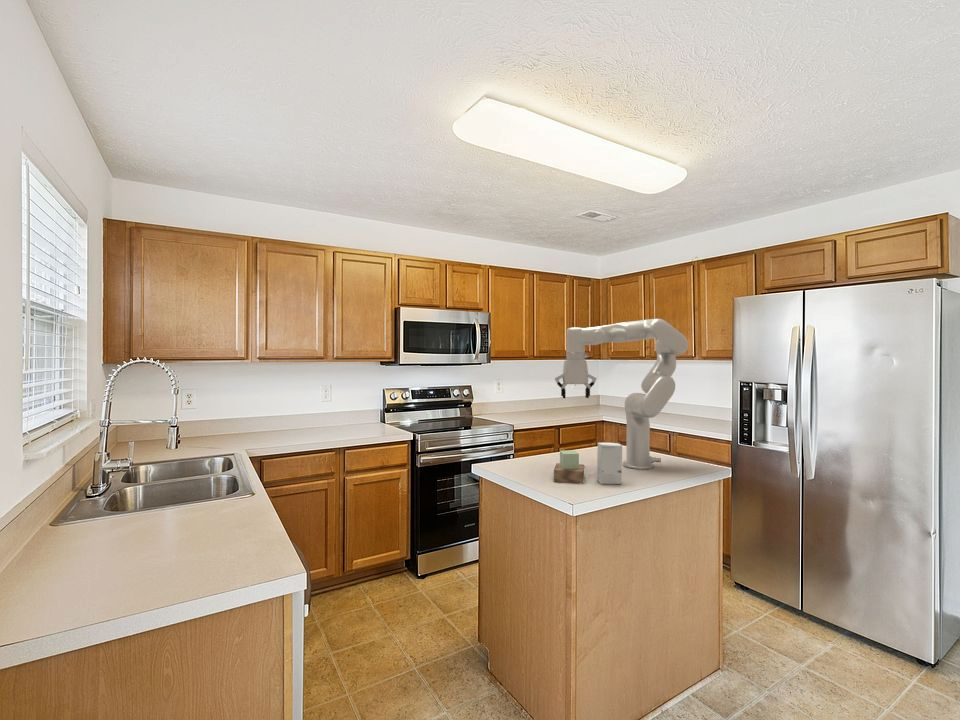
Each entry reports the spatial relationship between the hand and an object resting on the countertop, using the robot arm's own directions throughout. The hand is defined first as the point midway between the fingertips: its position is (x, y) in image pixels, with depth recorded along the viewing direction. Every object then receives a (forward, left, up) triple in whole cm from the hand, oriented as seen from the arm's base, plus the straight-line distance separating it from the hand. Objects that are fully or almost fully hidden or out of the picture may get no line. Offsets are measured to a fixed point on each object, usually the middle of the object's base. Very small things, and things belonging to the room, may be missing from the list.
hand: (575, 397), depth 201 cm
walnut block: (+5, +14, -31) cm, 34 cm away
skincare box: (-9, +19, -31) cm, 37 cm away
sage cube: (+5, +14, -26) cm, 30 cm away
